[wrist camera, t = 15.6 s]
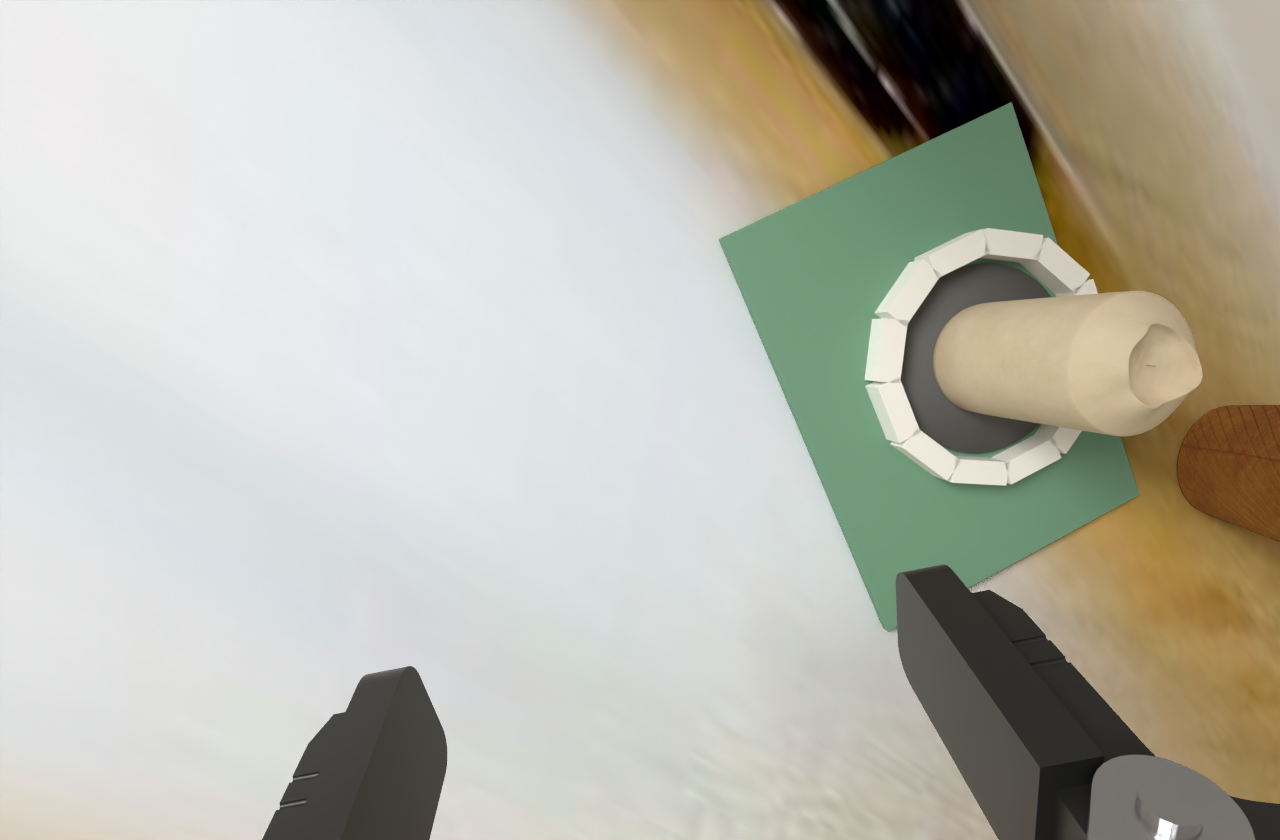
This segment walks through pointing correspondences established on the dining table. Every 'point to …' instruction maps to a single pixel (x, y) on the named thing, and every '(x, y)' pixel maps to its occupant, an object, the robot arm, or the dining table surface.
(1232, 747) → the dining table surface
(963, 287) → the putting green
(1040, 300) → the candle
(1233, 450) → the disposable coffee cup
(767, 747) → the dining table surface
